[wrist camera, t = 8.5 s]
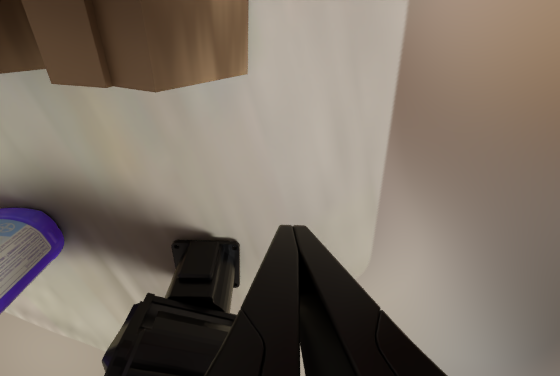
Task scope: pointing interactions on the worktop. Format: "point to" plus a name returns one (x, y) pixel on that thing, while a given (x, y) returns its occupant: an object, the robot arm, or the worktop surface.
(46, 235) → the bottle
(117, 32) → the domino
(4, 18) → the domino
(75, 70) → the domino
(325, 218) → the worktop surface
